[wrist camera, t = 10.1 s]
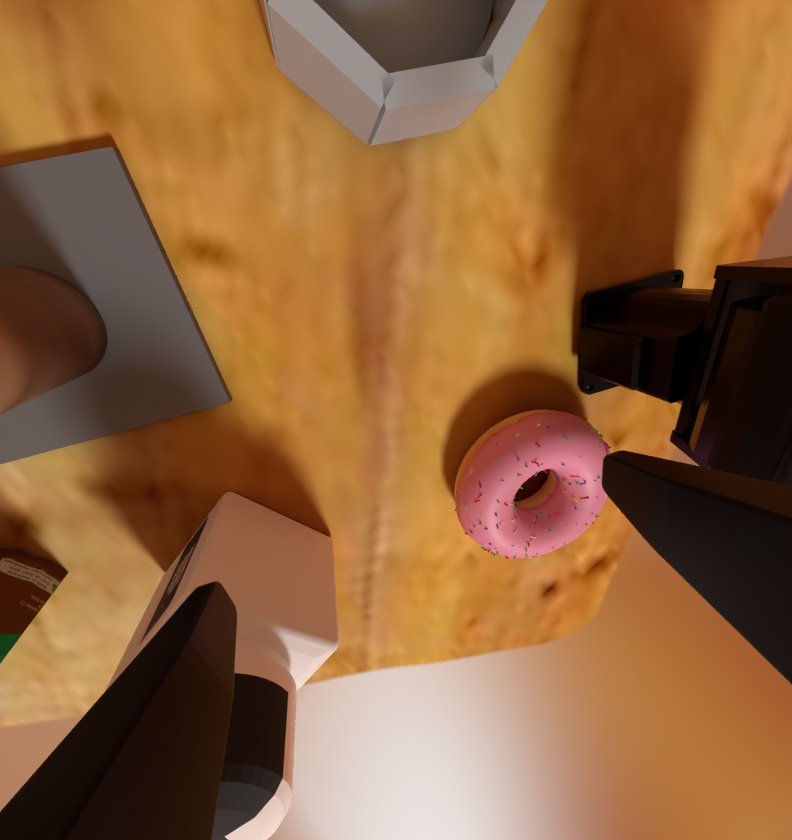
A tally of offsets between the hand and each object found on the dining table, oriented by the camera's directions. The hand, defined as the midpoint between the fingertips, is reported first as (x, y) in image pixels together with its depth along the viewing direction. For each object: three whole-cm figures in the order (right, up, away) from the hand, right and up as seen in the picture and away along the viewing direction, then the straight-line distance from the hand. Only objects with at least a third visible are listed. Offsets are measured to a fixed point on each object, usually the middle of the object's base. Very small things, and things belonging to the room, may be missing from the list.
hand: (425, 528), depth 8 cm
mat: (-16, +7, +8) cm, 19 cm away
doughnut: (+8, -1, +17) cm, 19 cm away
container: (-10, -6, +15) cm, 19 cm away
